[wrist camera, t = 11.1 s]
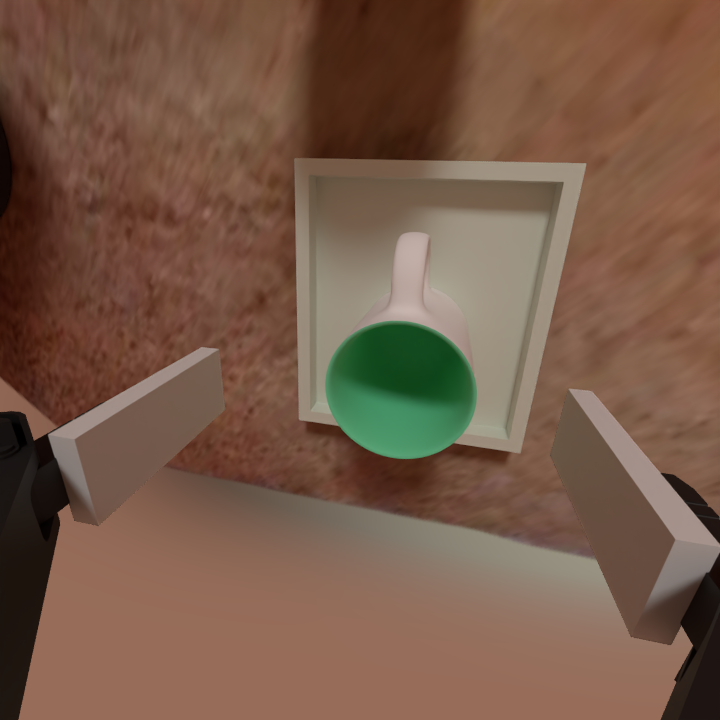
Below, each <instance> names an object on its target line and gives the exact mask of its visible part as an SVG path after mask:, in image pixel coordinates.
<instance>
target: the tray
mask: <svg viewBox="0 0 720 720" xmlns="http://www.w3.org/2000/svg"><path fill="white" fill-rule="evenodd" d="M586 164H587V163H536V162H483V161H430V160H377V159H324V158H294V169H295V223H296V278H297V333H298V387H299V420H303V421H310V422H316V423H323V424H330V425H336V426H339V425H338V423H337V422H336V420H335V419H334V417H333V415H332V413H331V411H330V408H329V405H328V402H327V398H326V391H325V380H326V373H327V369H328V365H329V363H330V360H331V358H332V356H333V354H334V353H335V351H336V350H337V348H338V347H339V346H340V345H341V343H342V342H343V341H344V340H345V339H346V337H347V336H348V335H349V334H350V333H351V332H352V330H353V329H354V328H355V327H356V326H357V324H358V323H359V322H360V321H361V320H362V319H363V317H364V316H365V315H366V314H367V313H368V311H369V310H370V309H371V308H372V307H373V306H374V304H375V303H376V302H377V301H378V300H379V299H380V298H381V297H382V296H384V295H385V294H387V293H388V292H390V291H391V280H392V268H393V259H394V253H395V248H396V244H397V241H398V239H399V237H400V236H401V235H402V234H404V233H408V232H421V233H425V234H427V235H429V236H430V240H431V254H430V271H429V285H430V287H431V288H434V289H437V290H439V291H441V292H443V293H445V294H446V295H447V296H449V297H450V298H451V299H452V300H453V301H454V302H455V303H456V304H457V305H458V306H459V308H460V309H461V311H462V313H463V315H464V317H465V319H466V323H467V327H468V333H469V340H470V347H471V353H472V360H473V367H474V373H475V380H476V386H477V402H476V408H475V412H474V415H473V418H472V420H471V422H470V424H469V426H468V427H467V429H466V430H465V432H464V433H463V434H462V435H461V436H460V437H459V438H458V439H457V440H456V441H455V442H454V443H456V444H463V445H469V446H476V447H482V448H489V449H496V450H502V451H509V452H516V453H520V452H521V448H522V443H523V439H524V435H525V430H526V426H527V422H528V417H529V413H530V408H531V404H532V400H533V395H534V391H535V387H536V382H537V378H538V373H539V369H540V365H541V360H542V356H543V352H544V347H545V343H546V338H547V334H548V330H549V325H550V321H551V317H552V312H553V308H554V303H555V299H556V295H557V290H558V286H559V282H560V277H561V273H562V269H563V264H564V260H565V255H566V251H567V247H568V242H569V238H570V234H571V229H572V225H573V220H574V216H575V212H576V207H577V203H578V199H579V194H580V190H581V185H582V181H583V177H584V172H585V168H586Z"/></svg>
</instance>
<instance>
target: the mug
mask: <svg viewBox="0 0 720 720" xmlns="http://www.w3.org/2000/svg"><path fill="white" fill-rule="evenodd" d="M430 254H431V240H430V236H429V235H427V234H425V233H421V232H408V233H404V234H402V235H401V236H400V237H399V239H398V241H397V244H396V248H395V253H394V259H393V268H392V280H391V291H390V292H388V293H387V294H385V295H384V296H382V297H381V298H380V299H379V300H378V301H377V302H376V303H375V304H374V306H373V307H372V308H371V309H370V310H369V311H368V313H367V314H366V315H365V316H364V317H363V319H362V320H361V321H360V322H359V323H358V324H357V326H356V327H355V328H354V329H353V330H352V332H351V333H350V334H349V335H348V336H347V337H346V339H345V340H344V341H343V342H342V343H341V345H340V346H339V347H338V348H337V350H336V351H335V353H334V354H333V356H332V358H331V360H330V363H329V365H328V369H327V373H326V380H325V391H326V398H327V402H328V405H329V408H330V411H331V413H332V415H333V417H334V419H335V420H336V422H337V423H338V425H339V426H340V428H341V429H342V430H343V431H344V432H345V433H346V434H347V435H348V436H349V437H350V438H351V439H352V440H353V441H355V442H356V443H357V444H359V445H360V446H362V447H364V448H365V449H367V450H369V451H371V452H374V453H376V454H379V455H382V456H386V457H391V458H398V459H415V458H421V457H426V456H429V455H432V454H435V453H438V452H440V451H442V450H444V449H445V448H447V447H449V446H450V445H451V444H453V443H454V442H455V441H456V440H457V439H458V438H459V437H460V436H461V435H462V434H463V433H464V432H465V430H466V429H467V427H468V426H469V424H470V422H471V420H472V418H473V415H474V412H475V408H476V402H477V386H476V380H475V373H474V367H473V360H472V353H471V347H470V340H469V333H468V327H467V323H466V319H465V317H464V315H463V313H462V311H461V309H460V308H459V306H458V305H457V304H456V303H455V302H454V301H453V300H452V299H451V298H450V297H449V296H447V295H446V294H445V293H443V292H441V291H439V290H437V289H434V288H431V287H430V285H429V271H430Z"/></svg>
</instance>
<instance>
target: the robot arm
mask: <svg viewBox="0 0 720 720" xmlns="http://www.w3.org/2000/svg"><path fill="white" fill-rule="evenodd" d="M10 185H11V167H10V158H9V152H8V148H7V143H6V140H5V136H4V133H3V130H2V127H1V124H0V216H1V214H2V212H3V211H4V209H5V206H6V204H7V201H8V197H9V192H10ZM224 410H225V402H224V392H223V383H222V373H221V363H220V354H219V349H213V348H204V347H201V348H200V349H198V350H196V351H194V352H192V353H191V354H189V355H187V356H185V357H184V358H182V359H180V360H178V361H177V362H175V363H173V364H171V365H170V366H168V367H166V368H164V369H163V370H161V371H159V372H157V373H156V374H154V375H152V376H150V377H149V378H147V379H145V380H143V381H142V382H140V383H138V384H136V385H134V386H133V387H131V388H129V389H127V390H126V391H124V392H122V393H120V394H119V395H117V396H115V397H113V398H112V399H110V400H108V401H106V402H103V403H100V404H99V405H97V406H95V407H93V408H92V409H90V410H88V411H86V413H83V414H81V415H79V416H77V417H76V418H75V419H74V420H70V421H68V422H67V423H65V424H63V425H61V426H60V427H58V428H56V429H54V430H53V431H51V432H50V433H47V434H46V435H44V436H42V437H40V438H38V439H37V440H35V441H34V440H33V437H32V433H31V430H30V427H29V425H28V421H27V419H26V415H25V414H23V413H21V412H14V411H10V412H0V720H18V719H19V714H20V709H21V705H22V700H23V696H24V691H25V686H26V681H27V677H28V672H29V667H30V663H31V658H32V653H33V649H34V644H35V639H36V635H37V630H38V625H39V621H40V616H41V611H42V607H43V602H44V597H45V592H46V588H47V583H48V578H49V574H50V569H51V564H52V560H53V555H54V550H55V546H56V541H57V536H58V532H59V527H60V520H59V517H58V513H57V512H59V511H60V510H61V509H63V508H64V507H65V506H66V505H68V504H69V505H70V508H71V512H72V515H73V518H74V521H77V522H82V523H88V524H92V525H97V526H99V525H100V524H101V523H102V522H103V521H104V520H106V519H107V518H108V517H109V516H110V515H111V514H112V513H113V512H114V511H115V510H116V509H117V508H118V507H120V506H121V505H122V504H123V503H124V502H125V501H126V500H127V499H128V498H129V497H130V496H132V495H133V494H134V493H135V492H136V491H137V490H138V489H139V488H140V487H141V486H142V485H143V484H145V483H146V481H148V480H149V479H150V478H151V477H152V476H153V475H154V474H155V473H157V472H158V471H159V470H160V469H161V468H162V467H163V466H164V465H165V464H166V463H168V462H169V461H170V460H171V459H172V458H173V457H174V456H175V455H176V454H177V453H178V452H180V451H181V450H182V449H183V448H184V447H185V446H186V445H187V444H188V443H189V442H190V441H191V440H193V439H194V438H195V437H196V436H197V435H198V434H199V433H200V432H201V431H202V430H203V429H205V428H206V427H207V426H208V425H209V424H210V423H211V422H212V421H213V420H214V419H215V418H217V417H218V416H219V415H220V414H221V413H222V412H223V411H224ZM550 456H551V458H552V460H553V463H554V465H555V467H556V469H557V472H558V474H559V476H560V478H561V481H562V483H563V485H564V487H565V490H566V492H567V494H568V496H569V499H570V501H571V503H572V505H573V508H574V510H575V512H576V514H577V517H578V519H579V521H580V523H581V526H582V528H583V530H584V532H585V535H586V537H587V539H588V541H589V544H590V546H591V548H592V550H593V553H594V555H595V557H596V559H597V562H598V564H599V566H600V568H601V571H602V573H603V575H604V577H605V580H606V582H607V584H608V586H609V588H610V591H611V593H612V595H613V598H614V600H615V602H616V604H617V607H618V609H619V611H620V613H621V616H622V618H623V620H624V622H625V624H626V627H627V629H628V631H629V634H630V636H631V637H634V638H639V639H643V640H648V641H653V642H658V643H663V644H667V645H671V644H672V642H673V640H674V639H675V637H676V635H677V633H678V631H679V629H680V627H681V625H682V627H683V629H684V631H685V632H686V634H687V636H688V637H689V639H690V641H691V643H692V644H693V647H692V649H691V651H690V652H689V654H688V656H687V658H686V660H685V661H684V663H683V665H682V667H681V669H680V670H679V672H678V674H677V676H676V678H675V679H674V680H675V681H676V685H675V687H674V689H673V692H672V694H671V696H670V699H669V701H668V704H667V706H666V708H665V711H664V713H663V715H662V718H661V720H720V520H719V516H718V515H717V514H716V513H715V512H714V511H713V509H712V508H711V507H708V504H707V503H706V502H705V501H704V500H703V498H702V497H701V496H700V495H699V494H698V493H697V492H696V491H695V490H694V489H693V488H692V487H690V486H689V485H687V484H686V483H685V482H683V481H682V480H680V479H679V478H677V477H676V476H675V475H672V474H665V473H660V472H659V471H658V470H657V469H656V467H655V466H654V465H653V464H652V463H651V461H650V460H649V459H648V458H647V457H646V455H645V454H644V453H643V452H642V451H641V449H640V448H639V447H638V446H637V445H636V443H635V442H634V441H633V440H632V439H631V437H630V436H629V435H628V434H627V433H626V431H625V430H624V429H623V428H622V427H621V425H620V424H619V423H618V422H617V421H616V419H615V418H614V417H613V416H612V415H611V413H610V412H609V411H608V410H607V409H606V407H605V406H604V405H603V404H602V403H601V401H600V400H599V399H598V398H597V397H596V395H595V394H594V393H593V392H592V391H586V390H577V389H568V391H567V394H566V398H565V402H564V405H563V409H562V413H561V417H560V420H559V424H558V428H557V432H556V435H555V439H554V443H553V447H552V450H551V454H550Z"/></svg>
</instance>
